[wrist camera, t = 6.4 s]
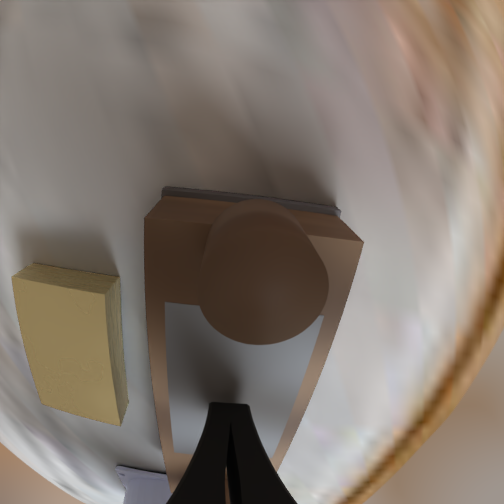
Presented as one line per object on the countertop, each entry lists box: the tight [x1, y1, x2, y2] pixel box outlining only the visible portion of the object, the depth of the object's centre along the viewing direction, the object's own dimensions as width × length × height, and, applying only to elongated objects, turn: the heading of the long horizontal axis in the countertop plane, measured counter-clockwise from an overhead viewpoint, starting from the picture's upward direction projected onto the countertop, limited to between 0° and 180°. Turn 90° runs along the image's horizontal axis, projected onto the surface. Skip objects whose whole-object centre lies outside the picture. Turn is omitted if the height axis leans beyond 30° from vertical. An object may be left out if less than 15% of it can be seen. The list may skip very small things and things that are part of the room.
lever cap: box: [12, 263, 129, 426], centre depth 12 cm, size 7×4×2 cm, turn 172°
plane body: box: [144, 187, 364, 504], centre depth 11 cm, size 19×6×6 cm, turn 172°
